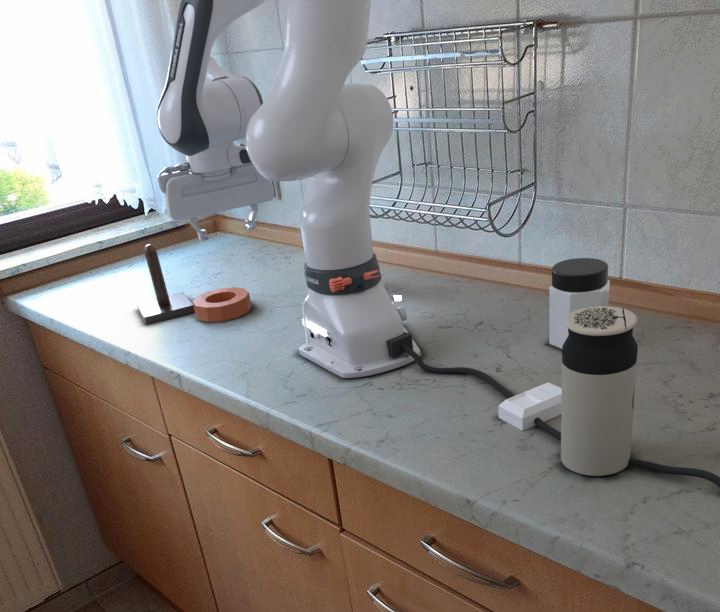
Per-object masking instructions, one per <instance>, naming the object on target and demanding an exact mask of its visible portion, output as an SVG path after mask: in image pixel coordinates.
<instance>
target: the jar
mask: <svg viewBox="0 0 720 612" xmlns="http://www.w3.org/2000/svg"><path fill="white" fill-rule="evenodd" d="M608 275H609V264H608V263H607V262H606V261H604V260H602V259H598V258H592V257H577V258H569V259H565V260H564V259H563V260H561V261H558V262H556V263H555V264H553V266H552V267H551V285H550V286H549V291H548V292H549V293H548V294H549V295H548V296H549V297H548V298H549V299H548V300H549V301H548V302H549V303H548V304H549V305H548V307H549V309H548V310H549V311H548V313H549V317H548V318H549V319H548V321H549V323H548V328H549V330H548V331H549V332H548V335H549V336H548V338H549V340H548V343H549V345H550V346H553V347H556V348H558V349H560V350H562V346H563V344H564V342H565V340H566V339H567V337H568V335H569V334H568V328H567V327H566V325H565V319H566V317H567V316H568V315H569V314H570V313H572V312H574V311H576V310H579V309H583V308H588V307H595V306H610V305H609V304H610V283H611V281H610V279H609V276H608Z"/></svg>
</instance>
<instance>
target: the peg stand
mask: <svg viewBox="0 0 720 612" xmlns="http://www.w3.org/2000/svg"><path fill="white" fill-rule="evenodd" d="M143 253H144V257H145V261H146V263H147V269H148V271H149V276H150V279H151V283H152V287H153V290H154V294H155V297H156V298H154V299H149V300H145V301H141V302H136V307H137V311H138V312H139V314H140V316H141V318H142V319H143V322H144V323H145V325H151V324H154V323H159V322H162V321H166V320H169V319H174V318H178V317H182V316H186V315H190V314H195V310H194V306H193V302H191V300H190V298H189V297H188V296H187V294H186V293H185V292H184V291H182V292H177V293H173V294H170V295H169V292H168V289H167V284H166V281H165V277H164V274H163V270H162V266H161V262H160V258H159V255H158V251H157V248H156V246H155V245H153V244H151V243H148V244H146V245H145V246H144V248H143Z"/></svg>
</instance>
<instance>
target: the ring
mask: <svg viewBox="0 0 720 612" xmlns="http://www.w3.org/2000/svg"><path fill="white" fill-rule="evenodd" d="M192 304H193V306H194V310H195V312H194V314H195V317H196V318H197V320H198V321H201V322H205V323H219V322H226V321H230V320H234V319H238V318H240V317H242V316H244V315H246V314H247V313H249V312H250V311H251V309H252V308H253V306H252V301H251V297H250V292H249V291H248V290H247V289H246V288H244V287H243V288H242V287H235V286H234V287H233V286H232V287H222V288H217V289H213V290H210V291H206V292H204V293H202V294H200V295H198V296H196V297H195V298H194V299H193V301H192Z"/></svg>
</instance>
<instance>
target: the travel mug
mask: <svg viewBox="0 0 720 612" xmlns="http://www.w3.org/2000/svg"><path fill="white" fill-rule="evenodd" d="M637 323H638V317H637V315H636V314H635V313H634V312H633V311H631V310H629V309H626V308H623V307H619V306H612V305H611V306H610V305H609V306H595V307H588V308H583V309H579V310H576V311H574V312H572V313H570V314H569V315H568V316H567V317H566V319H565V325H566V327H567V328H568V334H569V335H568V337H567V339H566V340H565V342H564V344H563V346H562V349H561V388H562V403H561V415H560V416H561V417H560V422H561V423H560V432H561V441H560V461H561V463H562V464H563V466H564V467H566V468H567V469H568V470H570V471H572V472H574V473H576V474H579V475H584V476H590V477H594V476H595V477H601V476H609V475H613V474H616V473H619V472H621V471H623V470H625V469H626V468H627V467H628V466H629V465H628V461H629V458H631V451H632V438H633V423H634V410H635V409H634V407H635V392H636V377H637V376H636V375H637V365H638V351H639V350H638V349H639V346H638V343H637V341H636V339H635V337H634V334H633V331H634V327H635V326H636V325H637Z"/></svg>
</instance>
